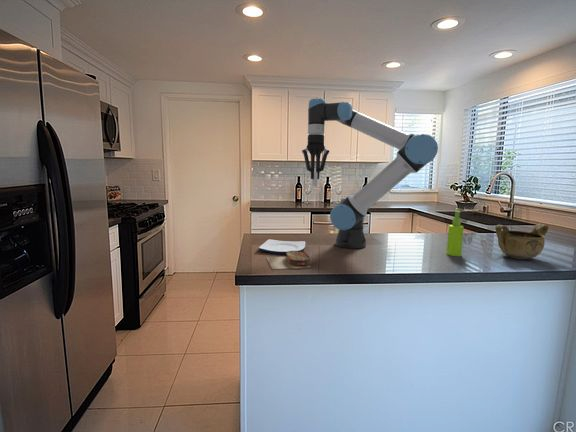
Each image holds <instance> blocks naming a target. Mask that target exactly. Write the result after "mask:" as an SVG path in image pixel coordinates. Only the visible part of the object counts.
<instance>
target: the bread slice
mask: <svg viewBox="0 0 576 432" xmlns="http://www.w3.org/2000/svg"><path fill="white" fill-rule="evenodd" d="M285 255H286V256H285V257H286V258H287V260H288V262H289V263H290V264H291V265H293V266H307V265H309V266H310V263H311V257H310V256H309V255H308V253H306V252H305V251H304V250H302V251H288V252H286V254H285Z"/></svg>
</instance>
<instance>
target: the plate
mask: <svg viewBox="0 0 576 432" xmlns="http://www.w3.org/2000/svg"><path fill="white" fill-rule="evenodd" d="M305 248H306V241H304V240H303V241H302V240H301V241H299V240H298V241H287V240H276V239H269V238H268V239H267V240H266V241H265V242H263V243H262V244H261V245H260V246H259V247H258V250H259V251H262V252H265V253H270V254H275V253H276V255H278V254H279V255H286V252H288V251H304V249H305Z"/></svg>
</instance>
